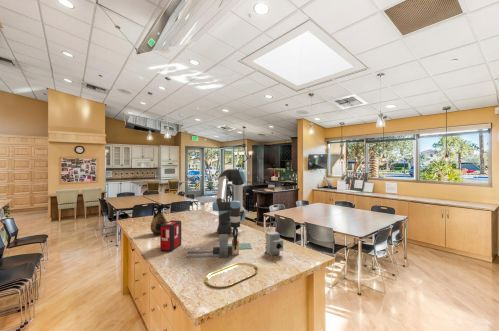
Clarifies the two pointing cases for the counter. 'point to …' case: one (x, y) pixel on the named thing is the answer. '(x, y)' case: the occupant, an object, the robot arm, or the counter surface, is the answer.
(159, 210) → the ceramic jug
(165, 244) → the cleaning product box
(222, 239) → the housing
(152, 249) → the counter surface
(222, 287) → the gold oval ring
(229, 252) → the plug
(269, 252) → the circuit breaker
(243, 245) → the mat
